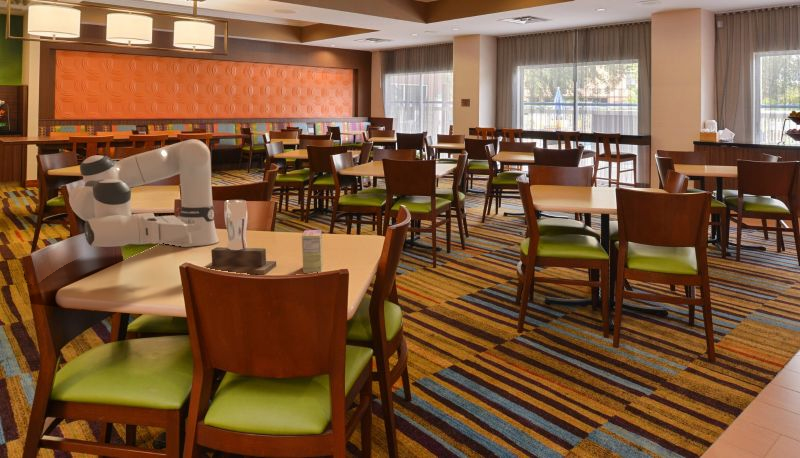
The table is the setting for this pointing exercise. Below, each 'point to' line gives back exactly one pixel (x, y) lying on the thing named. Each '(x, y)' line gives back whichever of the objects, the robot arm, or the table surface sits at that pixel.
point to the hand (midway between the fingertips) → (197, 224)
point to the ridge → (241, 261)
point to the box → (312, 251)
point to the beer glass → (236, 223)
